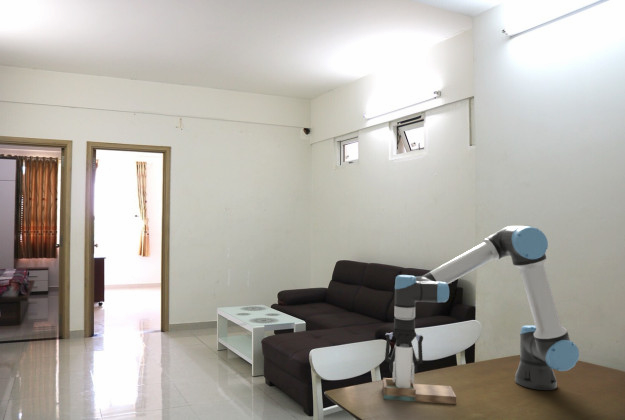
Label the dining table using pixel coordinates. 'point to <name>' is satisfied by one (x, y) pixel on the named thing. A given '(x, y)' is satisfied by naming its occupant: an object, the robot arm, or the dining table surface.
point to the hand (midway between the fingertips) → (403, 381)
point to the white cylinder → (403, 365)
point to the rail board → (418, 392)
